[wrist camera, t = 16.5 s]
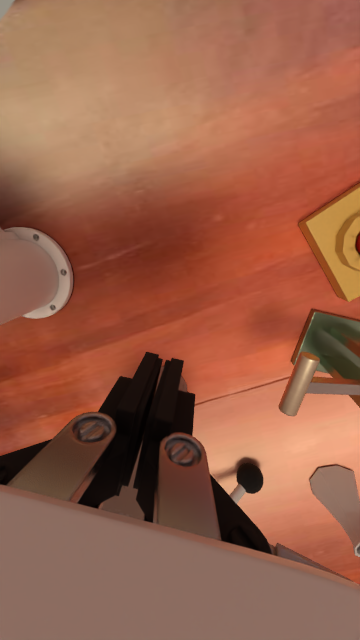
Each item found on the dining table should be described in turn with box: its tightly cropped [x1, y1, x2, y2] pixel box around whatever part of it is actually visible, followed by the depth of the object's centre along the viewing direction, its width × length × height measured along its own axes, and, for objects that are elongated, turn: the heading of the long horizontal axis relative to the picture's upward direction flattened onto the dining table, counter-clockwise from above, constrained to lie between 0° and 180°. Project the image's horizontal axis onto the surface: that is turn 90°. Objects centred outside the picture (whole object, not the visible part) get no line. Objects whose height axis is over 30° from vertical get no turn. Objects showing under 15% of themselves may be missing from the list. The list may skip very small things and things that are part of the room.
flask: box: [310, 466, 360, 557], centre depth 38 cm, size 7×7×10 cm
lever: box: [279, 352, 360, 416], centre depth 24 cm, size 13×6×2 cm, turn 79°
